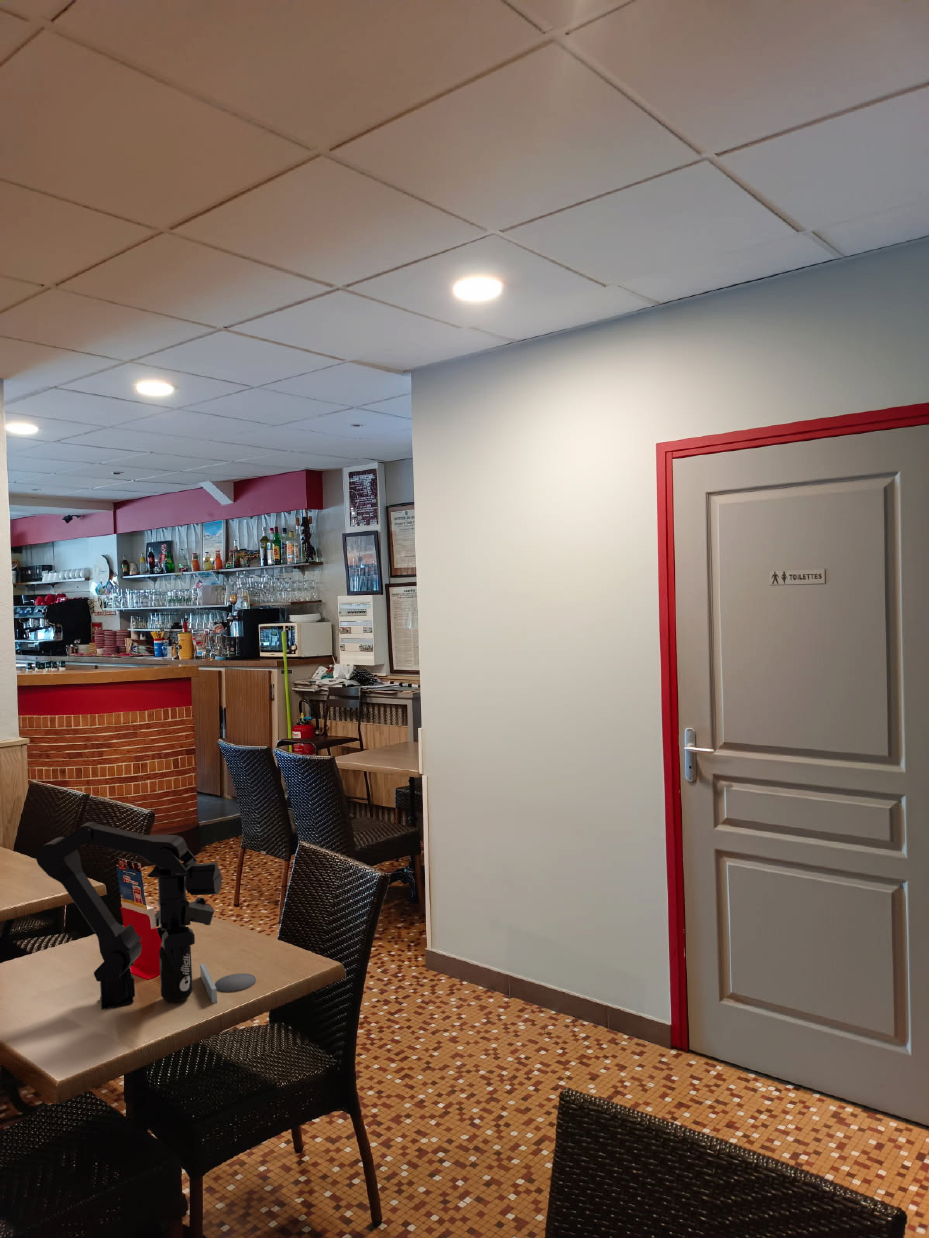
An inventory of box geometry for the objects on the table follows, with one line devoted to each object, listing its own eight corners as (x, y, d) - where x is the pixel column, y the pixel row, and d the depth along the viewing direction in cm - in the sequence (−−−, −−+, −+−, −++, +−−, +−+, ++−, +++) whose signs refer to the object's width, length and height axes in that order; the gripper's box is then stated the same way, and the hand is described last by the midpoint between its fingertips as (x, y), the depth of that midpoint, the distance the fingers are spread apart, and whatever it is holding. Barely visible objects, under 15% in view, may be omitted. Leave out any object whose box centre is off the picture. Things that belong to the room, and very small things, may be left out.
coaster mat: (218, 995, 198) (218, 993, 198) (212, 980, 207) (211, 978, 207) (259, 986, 202) (259, 984, 202) (251, 972, 210) (251, 970, 210)
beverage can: (173, 1005, 193) (170, 949, 192) (155, 998, 196) (152, 943, 196) (199, 994, 198) (196, 939, 198) (180, 987, 202) (178, 934, 202)
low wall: (212, 1003, 194) (211, 989, 194) (200, 976, 209) (200, 963, 209) (217, 1002, 195) (216, 988, 195) (204, 975, 209) (204, 962, 209)
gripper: (217, 901, 192) (220, 973, 192) (203, 878, 209) (206, 945, 209) (162, 910, 187) (166, 985, 187) (152, 886, 204) (156, 954, 204)
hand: (175, 966), depth 197 cm, fingers closed on beverage can, 6 cm apart
